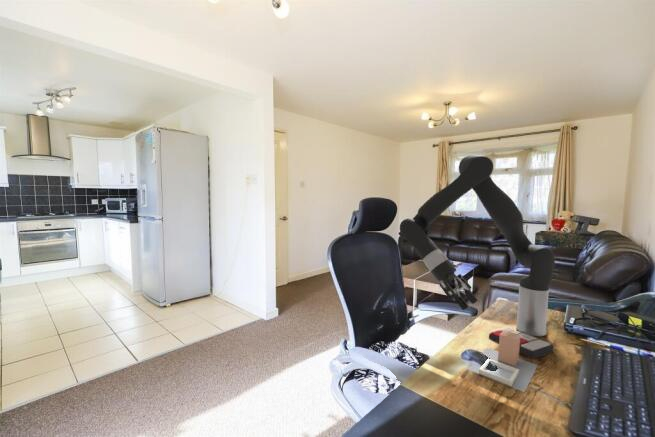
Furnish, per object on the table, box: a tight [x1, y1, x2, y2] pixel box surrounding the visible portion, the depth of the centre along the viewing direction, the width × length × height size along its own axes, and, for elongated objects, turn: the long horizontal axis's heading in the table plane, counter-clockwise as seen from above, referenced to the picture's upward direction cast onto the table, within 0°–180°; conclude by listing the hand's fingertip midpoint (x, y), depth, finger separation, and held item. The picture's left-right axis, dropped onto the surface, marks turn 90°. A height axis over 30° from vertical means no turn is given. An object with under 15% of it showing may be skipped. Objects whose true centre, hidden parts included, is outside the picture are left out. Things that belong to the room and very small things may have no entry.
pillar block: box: [498, 330, 520, 366], centre depth 91 cm, size 4×4×8 cm
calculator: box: [488, 327, 554, 359], centre depth 102 cm, size 11×4×15 cm
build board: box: [467, 347, 539, 393], centre depth 88 cm, size 18×14×2 cm
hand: (470, 305), depth 99 cm, fingers open, 8 cm apart
